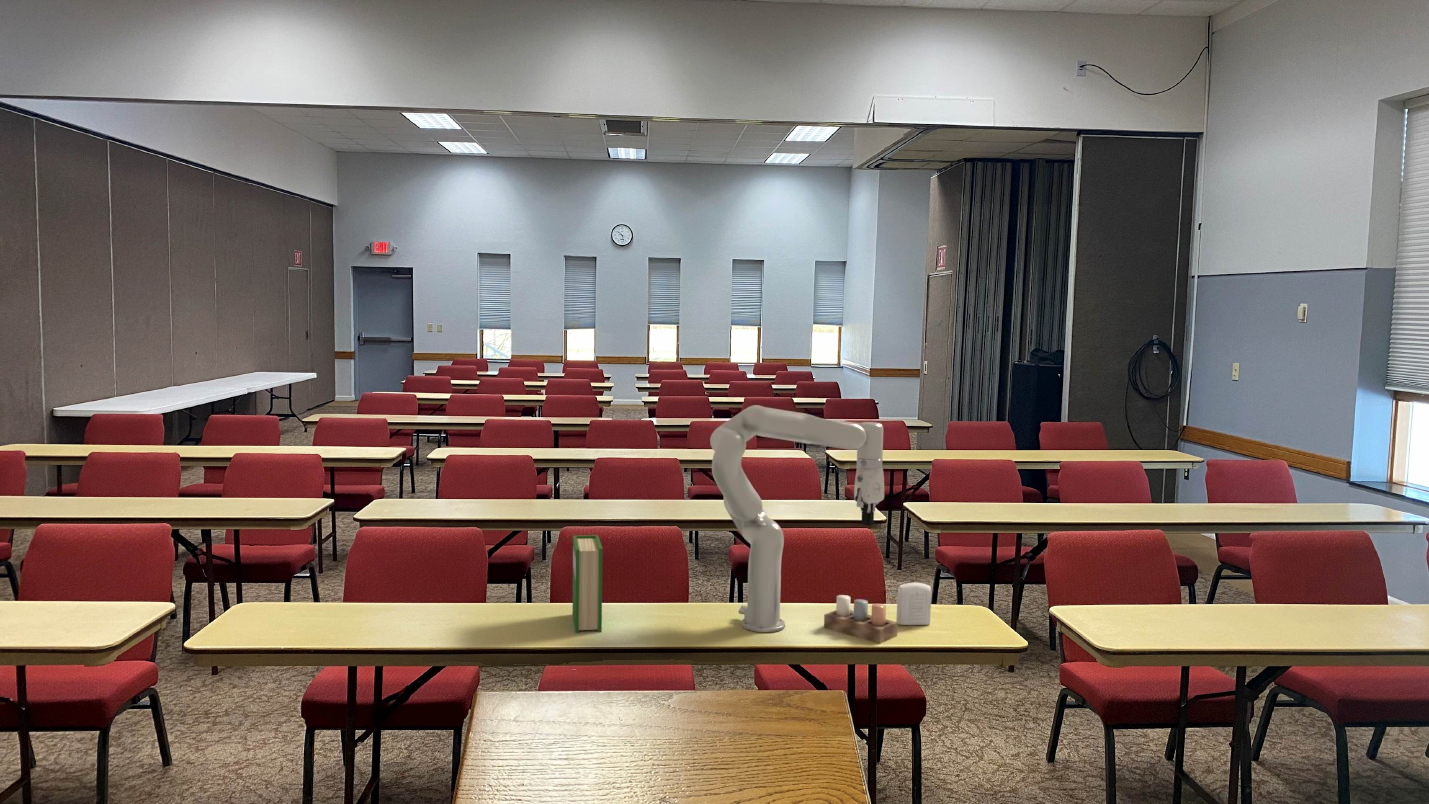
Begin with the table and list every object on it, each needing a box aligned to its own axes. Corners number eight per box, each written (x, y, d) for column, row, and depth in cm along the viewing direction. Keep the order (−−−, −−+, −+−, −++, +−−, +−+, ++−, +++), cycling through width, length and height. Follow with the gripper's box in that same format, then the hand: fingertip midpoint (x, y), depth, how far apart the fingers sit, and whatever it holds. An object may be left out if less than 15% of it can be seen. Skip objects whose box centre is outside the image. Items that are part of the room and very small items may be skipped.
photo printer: (927, 621, 274) (928, 580, 273) (932, 625, 270) (934, 584, 269) (894, 621, 273) (895, 581, 272) (898, 626, 268) (900, 585, 267)
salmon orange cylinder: (868, 629, 258) (869, 605, 258) (875, 626, 261) (876, 602, 261) (880, 633, 256) (881, 608, 255) (887, 629, 259) (888, 605, 258)
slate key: (850, 625, 262) (851, 601, 262) (858, 621, 265) (859, 598, 265) (862, 628, 260) (863, 604, 259) (869, 625, 263) (870, 601, 262)
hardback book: (601, 632, 258) (602, 548, 256) (575, 633, 256) (576, 549, 254) (597, 613, 275) (598, 535, 273) (572, 614, 273) (573, 535, 272)
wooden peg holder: (823, 627, 266) (824, 614, 265) (841, 621, 272) (841, 607, 272) (880, 643, 253) (880, 629, 253) (896, 636, 260) (897, 622, 259)
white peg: (833, 620, 266) (834, 596, 266) (841, 617, 269) (841, 594, 269) (844, 623, 264) (845, 599, 263) (852, 620, 267) (853, 597, 266)
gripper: (866, 467, 262) (864, 530, 263) (893, 463, 273) (891, 523, 274) (844, 464, 267) (842, 526, 268) (872, 460, 278) (870, 519, 279)
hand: (867, 524), depth 271 cm, fingers closed
